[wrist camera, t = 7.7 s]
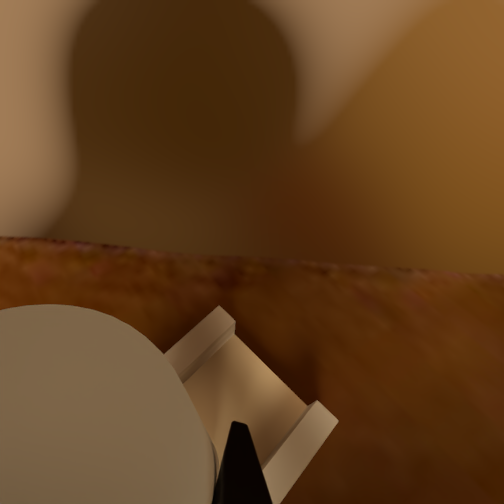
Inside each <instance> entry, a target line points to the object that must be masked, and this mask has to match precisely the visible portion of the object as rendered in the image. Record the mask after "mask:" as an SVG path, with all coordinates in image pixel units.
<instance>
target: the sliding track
mask: <svg viewBox="0 0 504 504" xmlns="http://www.w3.org/2000/svg"><path fill="white" fill-rule="evenodd" d="M235 322H236V321H235V320H234V319H233V318H232V317H231V316H230V315H229V314H228V313H227V312H226V311H225V310H224V309H223V308H221V307H220V306H218V307H217V308H215V309H214V310H213V311H212V312H211V313H210V314H209V315H208V316H206V317H205V318H204V319H203V320H202V321H201V322H200V323H199V324H197V325H196V326H195V327H194V328H193V329H192V330H191V331H190V332H188V333H187V334H186V335H185V336H184V337H183V338H182V339H181V340H179V341H178V342H177V343H176V344H175V345H174V346H173V347H172V348H170V349H169V350H168V351H167V352H166V353H165V354H164V356H165V357H166V359H167V360H168V361H169V363H170V364H171V365H172V367H173V368H174V370H175V371H176V373H177V375H178V377H179V379H180V380H181V382H182V384H183V386H184V388H185V389H186V391H187V393H188V395H189V397H190V399H191V401H192V403H193V405H194V407H195V409H196V411H197V413H198V415H199V417H200V419H201V420H202V422H203V424H204V426H205V428H206V430H207V432H208V434H209V436H210V438H211V440H212V442H213V444H214V446H215V448H216V451H217V455H218V460H219V470H220V466H221V462H222V458H223V453H224V449H225V445H226V442H227V438H228V434H229V430H230V426H231V422H232V421H238V422H241V423H245V424H247V425H248V427H249V430H250V433H251V436H252V440H253V443H254V446H255V449H256V452H257V455H258V458H259V462H260V465H261V468H262V471H263V474H264V477H265V480H266V484H267V487H268V490H269V493H270V496H271V499H272V502H273V504H280V503H281V501H282V500H283V498H284V497H285V496H286V494H287V493H288V491H289V490H290V489H291V487H292V486H293V484H294V483H295V482H296V480H297V479H298V477H299V476H300V475H301V473H302V472H303V470H304V469H305V468H306V466H307V465H308V463H309V462H310V461H311V459H312V458H313V456H314V455H315V454H316V452H317V451H318V449H319V448H320V447H321V445H322V444H323V442H324V441H325V440H326V438H327V437H328V435H329V434H330V432H331V431H332V430H333V428H334V427H335V425H336V424H337V423H338V420H337V419H336V418H335V417H334V416H333V415H332V414H331V413H330V412H329V411H328V410H327V409H326V408H325V407H324V406H323V405H322V404H321V403H320V402H319V401H318V400H316V401H315V402H313V403H312V404H310V405H309V406H307V405H306V404H305V403H304V402H303V401H302V400H301V399H300V398H299V397H298V396H297V395H296V394H295V393H294V392H293V391H292V390H291V389H290V388H289V387H288V386H286V385H285V384H284V383H283V382H282V381H281V380H280V379H279V378H278V377H277V376H276V375H275V374H274V373H273V372H272V371H271V370H270V369H269V368H268V367H267V366H266V365H265V364H264V363H263V362H262V361H261V360H260V359H259V358H258V357H257V356H256V355H255V354H254V353H253V352H252V351H251V350H250V349H249V348H248V347H247V346H246V345H245V344H244V343H243V342H242V341H241V340H240V339H239V338H238V337H237V336H236V335H235V334H234V333H235Z"/></svg>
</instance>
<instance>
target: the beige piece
mask: <svg viewBox="0 0 504 504" xmlns="http://www.w3.org/2000/svg"><path fill="white" fill-rule="evenodd" d="M218 474H219V460H218V455H217V451H216V448H215V446H214V444H213V442H212V440H211V438H210V436H209V434H208V432H207V430H206V428H205V426H204V424H203V422H202V420H201V419H200V417H199V415H198V413H197V411H196V409H195V407H194V405H193V403H192V401H191V399H190V397H189V395H188V393H187V391H186V389H185V388H184V386H183V384H182V382H181V380H180V379H179V377H178V375H177V373H176V371H175V370H174V368H173V367H172V365H171V364H170V363H169V361H168V360H167V359H166V357H165V356H164V355H163V354H162V352H161V351H160V350H159V349H158V348H157V347H156V346H155V345H154V344H153V343H152V342H151V341H150V340H149V339H148V338H147V337H145V336H144V335H143V334H141V333H140V332H138V331H137V330H136V329H134V328H133V327H131V326H130V325H128V324H126V323H124V322H122V321H120V320H118V319H116V318H114V317H113V316H110V315H107V314H104V313H101V312H98V311H95V310H92V309H87V308H82V307H77V306H70V305H55V304H46V305H28V306H21V307H15V308H9V309H3V310H0V504H212V502H213V496H214V491H215V486H216V482H217V478H218Z"/></svg>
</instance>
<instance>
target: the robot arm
mask: <svg viewBox="0 0 504 504" xmlns="http://www.w3.org/2000/svg"><path fill="white" fill-rule="evenodd" d="M212 504H273V502H272V499H271V496H270V493H269V490H268V487H267V484H266V480H265V477H264V474H263V471H262V468H261V465H260V462H259V458H258V455H257V452H256V449H255V446H254V443H253V440H252V436H251V433H250V430H249V427H248V425H247V424H245V423H241V422H238V421H232V422H231V426H230V430H229V434H228V438H227V442H226V445H225V449H224V453H223V458H222V462H221V466H220V470H219V474H218V478H217V482H216V486H215V491H214V496H213V502H212Z"/></svg>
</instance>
